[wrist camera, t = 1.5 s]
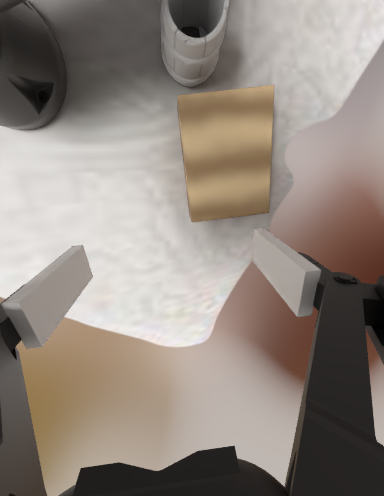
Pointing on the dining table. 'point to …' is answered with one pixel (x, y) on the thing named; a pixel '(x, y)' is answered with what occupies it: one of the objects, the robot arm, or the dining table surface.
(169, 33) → the mug
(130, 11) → the dining table surface
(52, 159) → the dining table surface
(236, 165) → the wooden block
